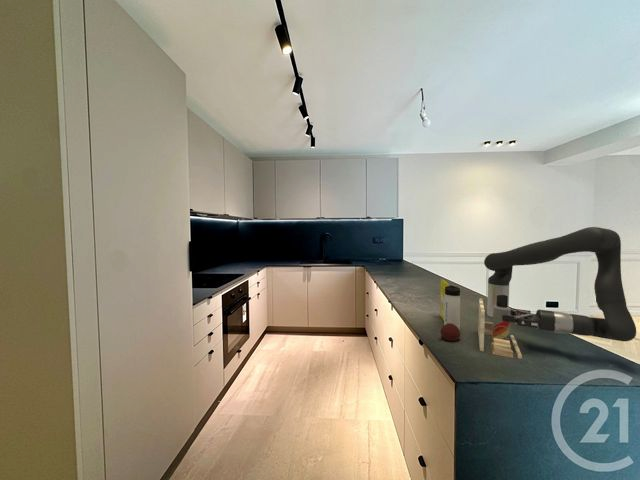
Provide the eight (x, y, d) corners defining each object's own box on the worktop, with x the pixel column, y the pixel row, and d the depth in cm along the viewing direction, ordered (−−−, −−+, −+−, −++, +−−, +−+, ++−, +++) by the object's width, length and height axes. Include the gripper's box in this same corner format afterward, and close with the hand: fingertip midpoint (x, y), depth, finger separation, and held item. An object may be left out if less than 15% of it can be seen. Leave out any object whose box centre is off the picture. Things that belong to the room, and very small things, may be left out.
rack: (478, 334, 117) (479, 298, 116) (513, 340, 110) (514, 302, 110) (479, 353, 99) (481, 310, 99) (521, 361, 93) (523, 316, 93)
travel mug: (458, 328, 123) (459, 285, 122) (460, 334, 117) (461, 289, 116) (443, 327, 125) (444, 284, 124) (444, 332, 119) (445, 288, 118)
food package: (449, 326, 126) (450, 284, 125) (446, 326, 126) (447, 284, 125) (441, 315, 141) (442, 278, 140) (439, 315, 141) (439, 278, 140)
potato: (437, 341, 110) (437, 324, 109) (443, 335, 116) (444, 319, 116) (456, 346, 105) (457, 329, 104) (462, 339, 111) (462, 323, 111)
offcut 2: (491, 346, 103) (491, 342, 102) (508, 348, 101) (508, 344, 100) (495, 353, 97) (495, 349, 97) (512, 356, 95) (513, 351, 95)
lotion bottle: (504, 348, 103) (505, 297, 102) (489, 342, 108) (490, 294, 107) (512, 345, 106) (514, 295, 105) (497, 340, 111) (498, 292, 110)
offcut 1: (493, 342, 102) (493, 338, 102) (509, 345, 100) (509, 340, 100) (493, 348, 97) (494, 343, 97) (510, 351, 95) (510, 347, 94)
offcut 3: (491, 350, 103) (491, 345, 103) (510, 353, 100) (510, 349, 100) (492, 358, 97) (493, 353, 97) (513, 362, 94) (513, 357, 94)
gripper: (549, 306, 105) (499, 300, 112) (560, 317, 92) (503, 310, 100) (548, 325, 105) (498, 318, 113) (559, 338, 93) (502, 329, 100)
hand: (501, 314), depth 106 cm, fingers open, 8 cm apart
